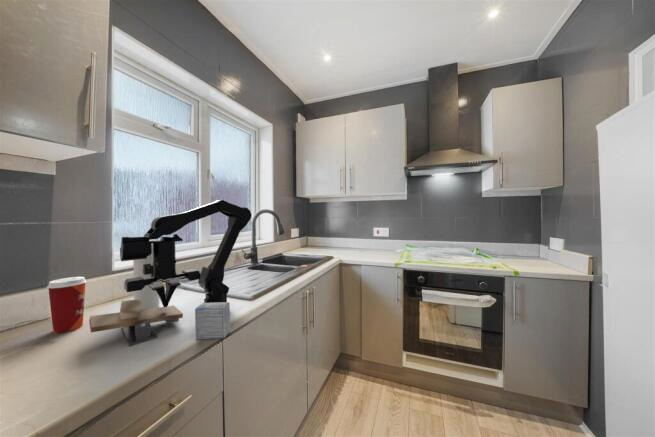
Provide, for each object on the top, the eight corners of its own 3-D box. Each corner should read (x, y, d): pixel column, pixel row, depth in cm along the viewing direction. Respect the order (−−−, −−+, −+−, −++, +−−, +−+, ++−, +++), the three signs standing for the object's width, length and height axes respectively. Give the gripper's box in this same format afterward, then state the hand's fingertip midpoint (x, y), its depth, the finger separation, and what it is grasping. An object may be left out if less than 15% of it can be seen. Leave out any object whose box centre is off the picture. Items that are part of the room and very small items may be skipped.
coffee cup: (91, 326, 73) (90, 278, 73) (51, 338, 66) (50, 284, 66) (82, 320, 77) (82, 274, 77) (44, 331, 70) (43, 280, 70)
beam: (172, 313, 79) (173, 305, 79) (181, 322, 72) (183, 313, 72) (88, 325, 64) (89, 316, 64) (89, 338, 57) (91, 327, 58)
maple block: (137, 313, 69) (139, 299, 70) (139, 316, 67) (141, 302, 67) (119, 315, 66) (121, 301, 67) (121, 319, 64) (123, 304, 64)
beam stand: (146, 321, 75) (146, 306, 75) (157, 337, 65) (157, 320, 65) (121, 328, 71) (121, 312, 71) (129, 346, 61) (129, 328, 61)
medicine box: (230, 331, 68) (230, 301, 68) (224, 339, 64) (223, 307, 64) (203, 332, 68) (202, 302, 68) (195, 340, 64) (194, 308, 64)
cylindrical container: (164, 307, 87) (163, 240, 87) (147, 315, 80) (146, 242, 80) (146, 307, 88) (145, 240, 88) (128, 315, 81) (127, 242, 81)
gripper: (189, 251, 85) (190, 293, 85) (121, 257, 71) (122, 308, 72) (200, 253, 78) (201, 301, 78) (126, 262, 64) (127, 319, 64)
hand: (165, 306), depth 73 cm, fingers closed
